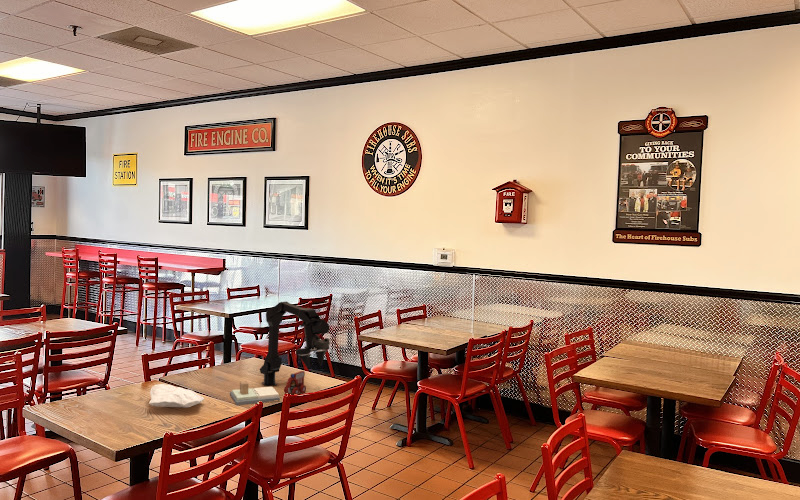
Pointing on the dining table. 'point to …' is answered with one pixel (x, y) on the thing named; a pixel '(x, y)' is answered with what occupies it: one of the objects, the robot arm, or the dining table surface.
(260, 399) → the board
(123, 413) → the dining table surface
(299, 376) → the toy fire truck
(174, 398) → the white rock
